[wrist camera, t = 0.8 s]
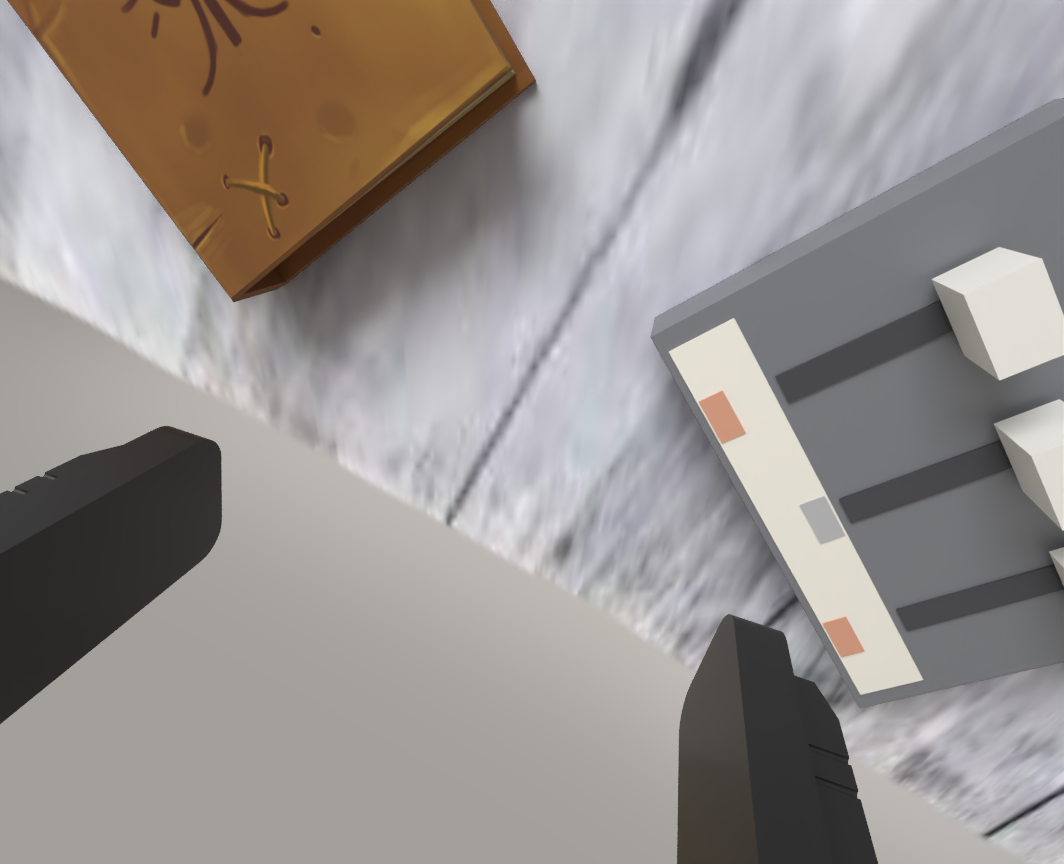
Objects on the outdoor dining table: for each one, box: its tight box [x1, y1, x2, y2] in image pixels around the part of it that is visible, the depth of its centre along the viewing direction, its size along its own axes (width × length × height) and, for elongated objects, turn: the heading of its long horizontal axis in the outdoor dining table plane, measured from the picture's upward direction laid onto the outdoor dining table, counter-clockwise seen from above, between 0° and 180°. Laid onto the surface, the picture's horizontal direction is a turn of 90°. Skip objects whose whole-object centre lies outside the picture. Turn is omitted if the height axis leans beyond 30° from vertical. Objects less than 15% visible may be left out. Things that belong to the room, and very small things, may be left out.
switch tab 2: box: [994, 399, 1064, 531], centre depth 24 cm, size 2×4×3 cm, turn 32°
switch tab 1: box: [931, 247, 1064, 381], centre depth 23 cm, size 2×4×3 cm, turn 31°
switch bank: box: [651, 98, 1064, 708], centre depth 29 cm, size 18×24×4 cm
